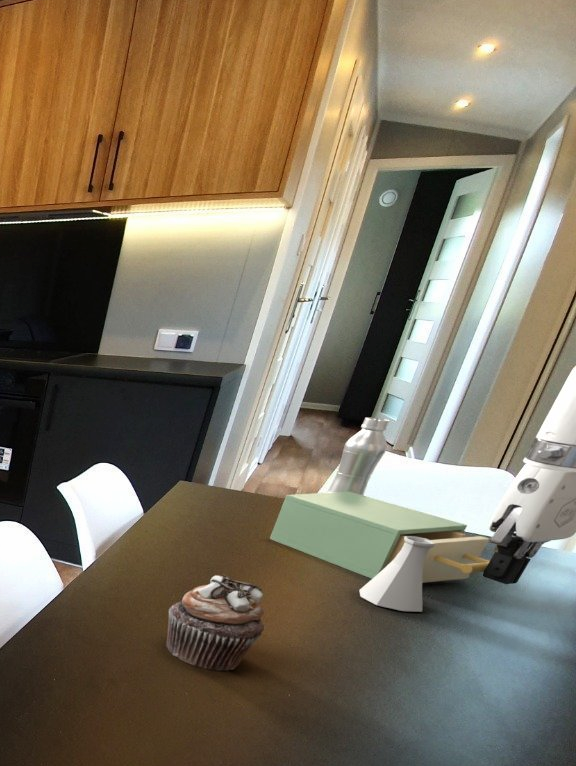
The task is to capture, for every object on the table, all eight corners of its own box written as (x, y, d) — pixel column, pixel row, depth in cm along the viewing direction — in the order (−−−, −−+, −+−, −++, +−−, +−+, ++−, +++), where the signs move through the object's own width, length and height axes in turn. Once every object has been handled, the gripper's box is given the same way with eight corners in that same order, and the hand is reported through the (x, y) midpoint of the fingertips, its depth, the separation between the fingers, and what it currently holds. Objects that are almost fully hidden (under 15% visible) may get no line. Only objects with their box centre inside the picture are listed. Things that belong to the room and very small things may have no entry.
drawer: (506, 591, 97) (530, 550, 94) (442, 598, 94) (464, 556, 91) (355, 539, 117) (370, 503, 114) (297, 543, 114) (312, 507, 111)
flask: (405, 596, 96) (436, 535, 92) (432, 617, 90) (467, 552, 86) (348, 588, 98) (376, 528, 94) (371, 608, 92) (402, 544, 88)
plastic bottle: (352, 515, 133) (395, 418, 124) (358, 524, 127) (402, 423, 119) (314, 509, 136) (353, 414, 127) (318, 517, 131) (359, 419, 122)
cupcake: (171, 627, 85) (194, 558, 81) (256, 655, 79) (285, 583, 75) (147, 652, 79) (170, 579, 75) (237, 684, 73) (268, 607, 69)
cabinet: (442, 573, 105) (467, 525, 101) (375, 580, 102) (399, 530, 98) (330, 534, 121) (348, 491, 118) (269, 539, 118) (286, 494, 114)
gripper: (568, 465, 80) (493, 595, 88) (645, 461, 83) (567, 587, 91) (494, 451, 86) (431, 573, 94) (569, 448, 90) (502, 566, 98)
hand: (498, 579), depth 93 cm, fingers closed
